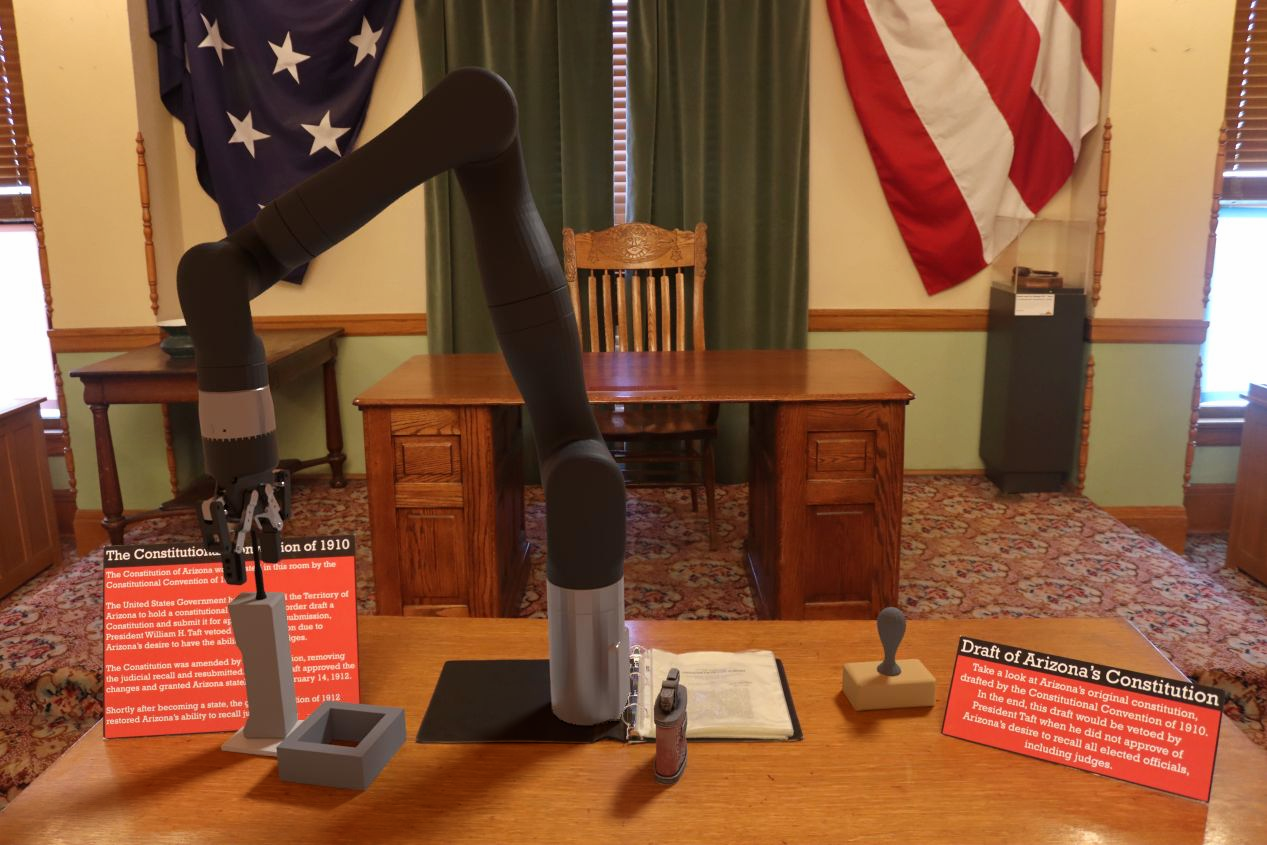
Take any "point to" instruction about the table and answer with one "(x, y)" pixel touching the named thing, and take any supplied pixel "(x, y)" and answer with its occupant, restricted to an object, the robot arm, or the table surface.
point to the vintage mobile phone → (265, 657)
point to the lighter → (671, 730)
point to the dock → (339, 765)
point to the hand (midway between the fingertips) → (255, 572)
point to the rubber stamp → (889, 673)
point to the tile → (254, 743)
